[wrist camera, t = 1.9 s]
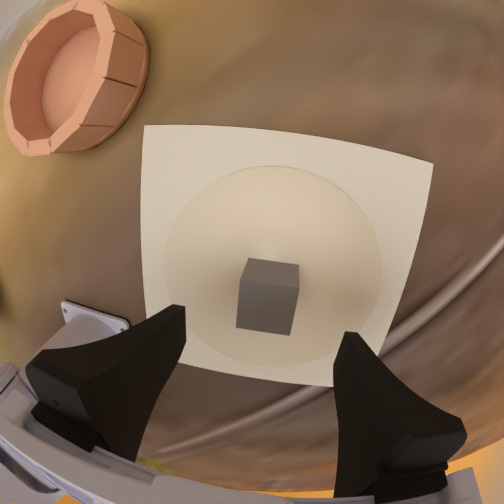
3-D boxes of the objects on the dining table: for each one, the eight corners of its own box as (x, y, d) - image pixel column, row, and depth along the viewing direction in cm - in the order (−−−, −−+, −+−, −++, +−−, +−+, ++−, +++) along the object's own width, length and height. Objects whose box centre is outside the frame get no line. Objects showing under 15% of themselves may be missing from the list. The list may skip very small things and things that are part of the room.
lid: (347, 370, 20) (353, 404, 16) (171, 343, 21) (154, 373, 18) (400, 187, 15) (426, 198, 11) (169, 157, 16) (140, 160, 13)
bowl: (139, 148, 16) (98, 150, 12) (38, 153, 17) (0, 160, 13) (161, 4, 13) (131, -22, 8) (55, 37, 14) (20, 28, 9)
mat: (360, 384, 21) (361, 388, 20) (153, 351, 22) (151, 355, 22) (429, 163, 14) (433, 163, 14) (148, 125, 16) (144, 125, 15)
